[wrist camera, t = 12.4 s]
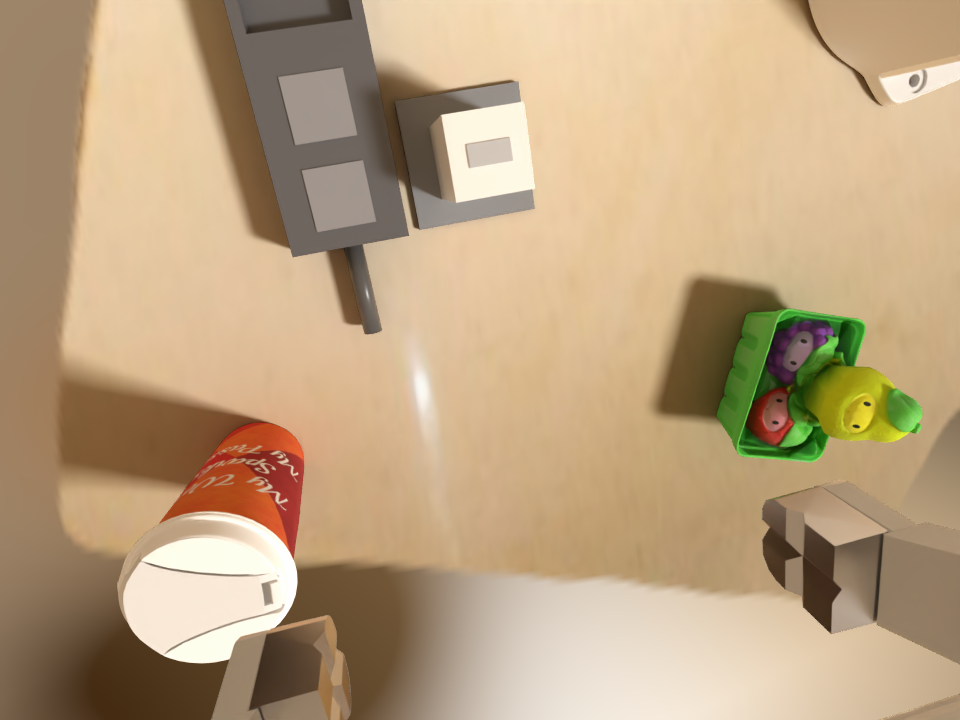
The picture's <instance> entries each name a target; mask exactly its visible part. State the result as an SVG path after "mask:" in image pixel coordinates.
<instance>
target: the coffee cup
mask: <svg viewBox="0 0 960 720" xmlns="http://www.w3.org/2000/svg"><path fill="white" fill-rule="evenodd" d="M303 475H304V455H303V451H302V448H301V445H300V444H299V442H298V440H297V439H296V438H295V437H294V436H293V435H292V434H291V433H290V432H289V431H287V430H286V429H284V428H282V427H280V426H277V425H274V424H270V423H251V424H247V425H244V426H242V427H239V428H237V429H236V430H234V431H233V432H232V433H230V434H229V435H228V436H227V437H226V438H225V439H224V440H223V441H222V443H221V444H220V445H219V446H218V447H217V449H216V450H215V451H214V452H213V454H212V455H211V456H210V458H209V459H208V460H207V461H206V463H205V464H204V465H203V467H202V468H201V469H200V470H199V472H198V473H197V474H196V476H195V477H194V478H193V480H192V481H191V482H190V483H189V485H188V486H187V487H186V489H185V490H184V491H183V493H182V494H181V495H180V497H179V498H178V499H177V501H176V502H175V503H174V505H173V506H172V507H171V509H170V510H169V511H168V512H167V514H166V515H165V516H164V518H163V519H162V520H161V522H160V523H159V524H158V525H156V526H155V527H153V528H152V529H150V530H149V531H147V532H146V533H145V534H144V535H143V536H142V537H141V538H140V539H139V540H138V541H137V542H136V543H135V545H134V546H133V547H132V548H131V550H130V551H129V553H128V555H127V557H126V559H125V561H124V565H123V568H122V572H121V575H120V579H119V581H118V584H117V587H118V594H119V604H120V608H121V611H122V613H123V615H124V618H125V619H126V621H127V622H128V623H129V625H130V627H131V629H132V631H133V632H134V633H135V634H136V635H137V637H138V638H139V639H140V640H141V641H143V642H144V643H145V644H147V645H148V646H149V647H151V648H152V649H154V650H155V651H157V652H158V653H160V654H161V655H164V656H165V657H168V658H172V659H175V660H178V661H184V662H191V663H210V662H217V661H223V660H228V659H230V656H231V653H232V650H233V647H234V644H235V642H236V641H237V640H238V639H239V638H240V637H241V636H245V635H249V634H253V633H257V632H261V631H265V630H270V629H272V628H275V626H277V625H278V624H279V623H280V622H281V620H282V619H283V618H284V617H285V615H286V614H287V612H288V611H289V609H290V607H291V605H292V603H293V600H294V597H295V594H296V588H297V571H296V567H295V563H294V552H295V544H296V537H297V531H298V524H299V515H300V504H301V494H302V484H303Z"/></svg>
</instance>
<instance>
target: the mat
mask: <svg viewBox="0 0 960 720" xmlns="http://www.w3.org/2000/svg"><path fill="white" fill-rule="evenodd" d="M518 102H521V99H520V91H519V83H518V82H512V83H506V84H499V85H493V86H487V87H480V88H474V89H468V90H461V91H455V92H449V93H442V94H436V95H429V96H423V97H417V98H410V99H404V100H398V101H395V106H396V111H397V116H398V121H399V126H400V131H401V137H402V142H403V147H404V152H405V157H406V162H407V167H408V173H409V178H410V183H411V188H412V193H413V198H414V203H415V208H416V214H417V219H418V224H419V229H420V230H422V229H427V228H433V227H438V226H443V225H449V224H454V223H460V222H465V221H471V220H476V219H481V218H487V217H492V216H498V215H503V214H508V213H514V212H519V211H525V210H530V209H535V207H534V199H533V192H532V189H530V190H525V191H519V192H514V193H508V194H503V195H497V196H491V197H486V198H480V199H475V200H469V201H464V202H458V203H455V202H451V201H446V200H442V197H441V191H440V185H439V180H438V174H437V169H436V163H435V158H434V152H433V146H432V141H431V135H430V130H429V127H430V126H431V125H432V124H433V123H434V122H435V121H436V120H437V119H438V118H439V117H440V116H441V115H444V114H450V113H456V112H462V111H469V110H475V109H481V108H487V107H493V106H499V105H506V104H512V103H518Z"/></svg>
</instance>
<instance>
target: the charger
mask: <svg viewBox="0 0 960 720" xmlns="http://www.w3.org/2000/svg"><path fill="white" fill-rule="evenodd" d="M429 130H430V135H431V141H432V146H433V152H434V158H435V163H436V169H437V174H438V180H439V185H440V191H441V197H442V200H446V201H451V202H455V203H458V202H464V201H469V200H475V199H480V198H486V197H491V196H497V195H503V194H508V193H514V192H519V191H525V190H530V189H535V183H534V176H533V168H532V160H531V152H530V144H529V136H528V128H527V121H526V113H525V105H524V102H518V103H512V104H506V105H499V106H493V107H487V108H481V109H475V110H469V111H462V112H456V113H450V114H444V115H441V116H440V117H439V118H438V119H437V120H436V121H435V122H434V123H433V124H432V125H431V126H430V127H429Z"/></svg>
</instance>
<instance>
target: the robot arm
mask: <svg viewBox="0 0 960 720" xmlns="http://www.w3.org/2000/svg"><path fill="white" fill-rule="evenodd" d="M808 1H809V6H810V9H811V13H812V16H813V19H814V22H815V24H816V27H817V29H818V31H819V33H820V35H821V36H822V38H823V40H824V41H825V43H826V44H827V45H828V47H829V48H830V49H831V50H832V51H833V52H834V53H835V54H836V55H837V56H838V57H839V58H840V59H841V60H842V61H844V62H845V63H847V64H848V65H850V66H851V67H853V68H854V69H856V70H857V71H858V72H859V73H861V74H862V76H863V77H864V78H865V80H866V82H867V84H868V86H869V88H870V90H871V92H872V93H873V95H874V97H875V98H876V99H877V101H878V102H879V103H880V104H881V105H883V106H887V107H889V106H894V105H897V104H901V103H904V102H907V101H909V100H911V99H914V98H916V97H919V96H921V95H924V94H926V93H929V92H931V91H933V90H936V89H938V88H941V87H943V86H946V85H948V84H951V83H953V82H955V81H958V80H960V0H808ZM909 79H910V80H911V82H910V85H909ZM762 520H763V521H764V522H765V523H766V524H767V525H768V526H769V527H770V528H769V529H768V531H767V533H766V534H765V536H764V538H763V539H762V543H763V556H764V558H765V561H766V564H767V566H768V569H769V571H770V572H771V574H772V575H773V577H774V578H775V580H776V581H777V582H778V583H779V584H780V585H781V586H782V587H783V588H784V589H785V590H787V591H790V592H793V593H795V594H798V595H800V596H802V602H803V607H804V608H805V609H806V610H807V611H808V612H809V613H810V614H811V615H812V616H813V617H814V618H815V619H816V620H817V621H818V622H819V623H820V624H821V625H822V626H823V627H824V628H825V629H826V630H827V631H828V632H830V633H831V634H833V633H838V632H841V631H845V630H849V629H853V628H856V627H860V626H864V625H868V624H872V623H875V622H877V625H878V626H880V627H882V628H885V629H887V630H889V631H891V632H893V633H895V634H897V635H899V636H902V637H903V638H906V639H908V640H910V641H912V642H914V643H916V644H918V645H920V646H923V647H925V648H927V649H929V650H931V651H933V652H935V653H937V654H940V655H941V656H943V657H946V658H948V659H950V660H952V661H954V662H956V663H958V664H960V531H959V530H955V529H951V528H947V527H942V526H938V525H934V524H930V523H921V524H916V523H914V522H913V521H911V520H910V519H908V518H906V517H905V516H903V515H902V514H900V513H898V512H897V511H895V510H894V509H892V508H890V507H889V506H887V505H885V504H884V503H882V502H881V501H879V500H877V499H876V498H874V497H872V496H871V495H869V494H868V493H866V492H864V491H863V490H861V489H859V488H858V487H856V486H855V485H853V484H851V483H850V482H848V481H844V480H839V479H838V480H835V481H831V482H828V483H824V484H821V485H817V486H814V487H813V488H809V489H806V490H802V491H798V492H794V493H791V494H787V495H783V496H780V497H776V498H772V499H768V500H766V501H765V503H764V505H763V508H762ZM336 640H337V632H336V629H335V626H334V623H333V620H332V618H331V617H330V616H329V615H327V616H322V617H318V618H314V619H309V620H305V621H301V622H297V623H293V624H288V625H285V626H280V627H276V628H272V629H270V630H265V631H261V632H257V633H253V634H249V635H245V636H241V637H240V638H239V639H238V640H237V641H236V642H235V644H234V647H233V650H232V653H231V656H230V660H229V663H228V666H227V670H226V673H225V677H224V680H223V683H222V686H221V690H220V693H219V696H218V699H217V703H216V706H215V710H214V713H213V716H212V719H211V720H347V718H348V717H349V715H350V714H351V692H350V680H349V674H348V669H347V665H346V661H345V658H344V654H343V653H342V652H340V651H339V650H337V649H336ZM880 720H960V694H958V695H955V696H951V697H948V698H945V699H943V700H939V701H936V702H933V703H930V704H927V705H924V706H920V707H918V708H914V709H911V710H908V711H905V712H902V713H899V714H896V715H893V716H889V717H886V718H883V719H880Z"/></svg>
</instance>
